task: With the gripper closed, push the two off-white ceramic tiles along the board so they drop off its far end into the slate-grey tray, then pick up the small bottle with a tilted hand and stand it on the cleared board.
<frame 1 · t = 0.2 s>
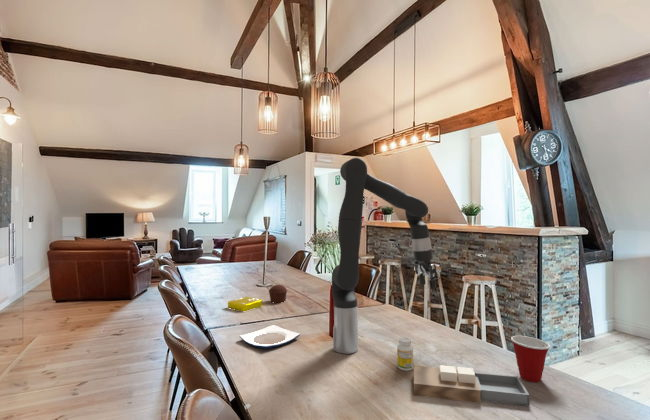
hand: (427, 286, 143), 22 cm above the table, tool pointing down, fingers open, 8 cm apart
tray: (500, 393, 100), on the table
plate: (270, 341, 146), on the table
element tile: (245, 308, 199), on the table
plastic cup: (531, 378, 109), on the table
supplement bottle: (405, 368, 118), on the table
tile b: (465, 379, 102), point 3 cm above the table, touching board
muffin: (278, 301, 211), on the table
tile a: (448, 377, 103), point 3 cm above the table, touching board
board: (444, 388, 103), on the table
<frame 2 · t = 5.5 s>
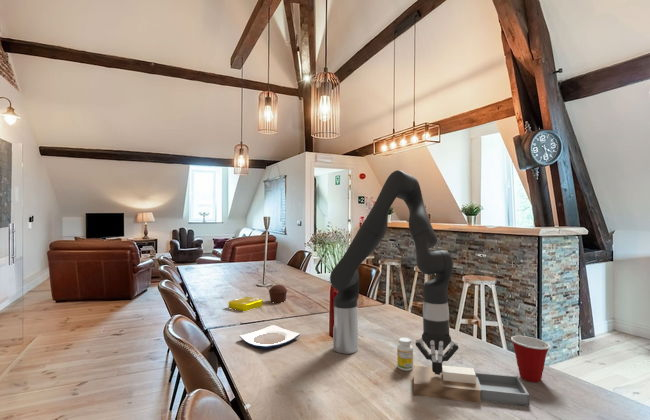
hand: (437, 373, 104), 4 cm above the table, tool pointing down, fingers closed
tile b: (466, 379, 102), point 4 cm above the table, touching tile a
tile a: (450, 377, 103), point 4 cm above the table, touching gripper, tile b
everything else where it was.
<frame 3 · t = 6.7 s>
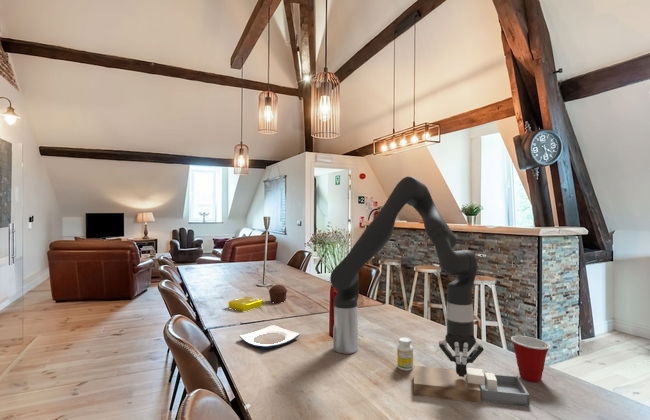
hand: (461, 375, 102), 5 cm above the table, tool pointing down, fingers closed
tile b: (486, 383, 100), point 3 cm above the table, tilted 90°, touching tray
tile a: (475, 380, 101), point 4 cm above the table, touching board, gripper
everything else where it was.
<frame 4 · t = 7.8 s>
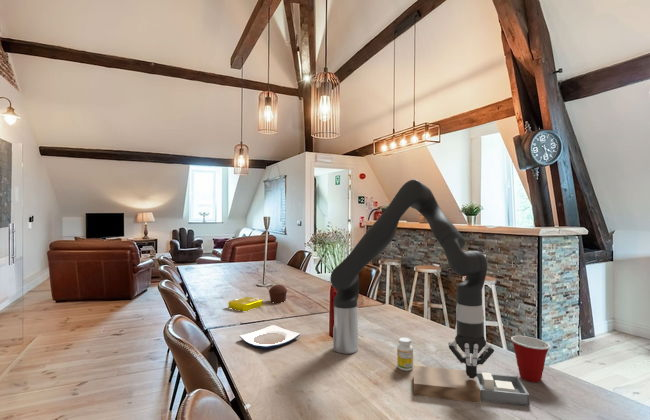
hand: (471, 377, 101), 4 cm above the table, tool pointing down, fingers closed
tile b: (504, 384, 99), point 3 cm above the table, tilted 180°, touching tray
tile a: (483, 383, 100), point 3 cm above the table, tilted 88°, touching tray
everything else where it was.
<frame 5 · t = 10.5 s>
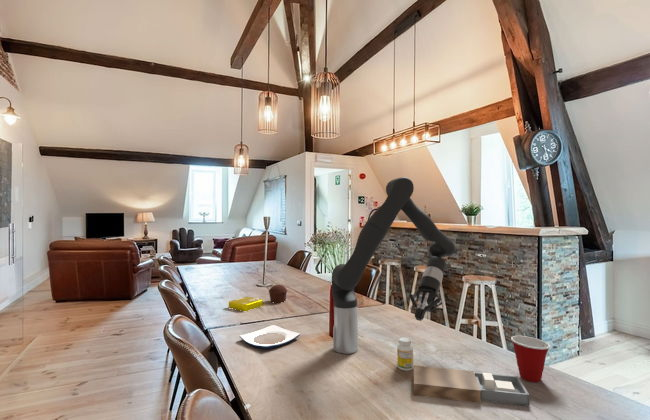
hand: (418, 319, 126), 14 cm above the table, tool tilted 45°, fingers closed
nothing on the table moved.
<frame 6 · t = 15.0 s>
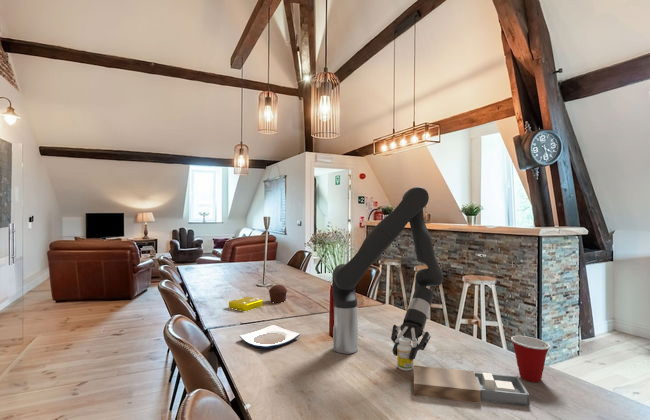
hand: (402, 356, 117), 4 cm above the table, tool tilted 45°, fingers closed on supplement bottle, 5 cm apart
supplement bottle: (405, 367, 118), on the table, touching gripper
everything else where it was.
when the fingers open (9 cm above the table, at t = 19.5 s): supplement bottle drops 1 cm, resting on board.
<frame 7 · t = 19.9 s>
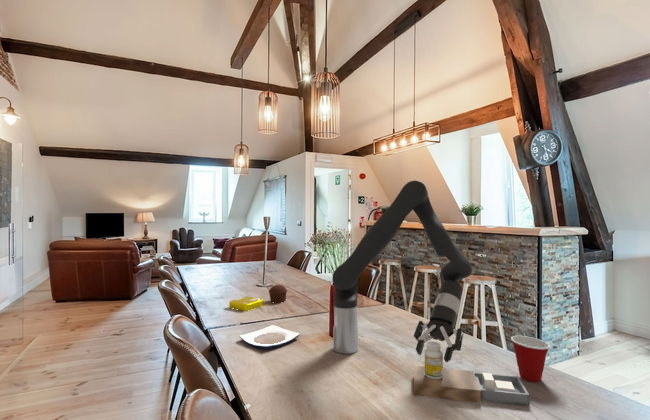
hand: (432, 357, 103), 10 cm above the table, tool tilted 45°, fingers open, 8 cm apart
supplement bottle: (434, 376, 104), point 3 cm above the table, touching board
everything else where it was.
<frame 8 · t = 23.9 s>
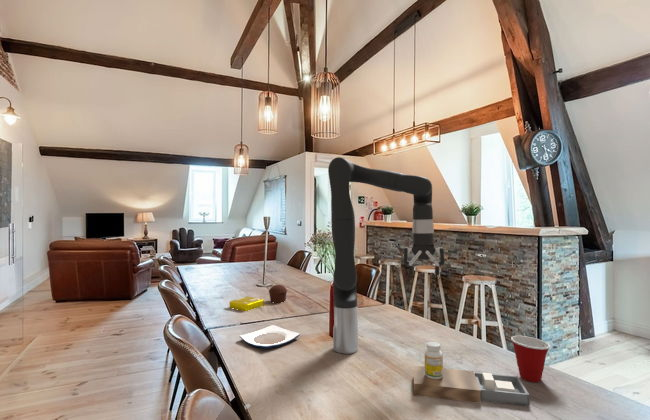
hand: (424, 276, 125), 30 cm above the table, tool pointing down, fingers open, 8 cm apart
nothing on the table moved.
at the end: supplement bottle inside the target area (3.0 cm from its centre), point 3.3 cm above the table; supplement bottle tilted 0°; tile b inside the target area (1.2 cm from its centre), point 3.1 cm above the table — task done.
